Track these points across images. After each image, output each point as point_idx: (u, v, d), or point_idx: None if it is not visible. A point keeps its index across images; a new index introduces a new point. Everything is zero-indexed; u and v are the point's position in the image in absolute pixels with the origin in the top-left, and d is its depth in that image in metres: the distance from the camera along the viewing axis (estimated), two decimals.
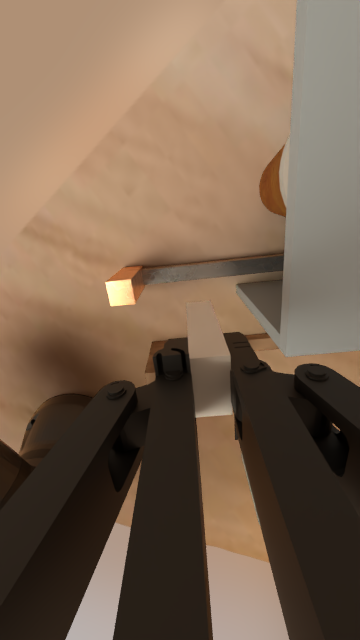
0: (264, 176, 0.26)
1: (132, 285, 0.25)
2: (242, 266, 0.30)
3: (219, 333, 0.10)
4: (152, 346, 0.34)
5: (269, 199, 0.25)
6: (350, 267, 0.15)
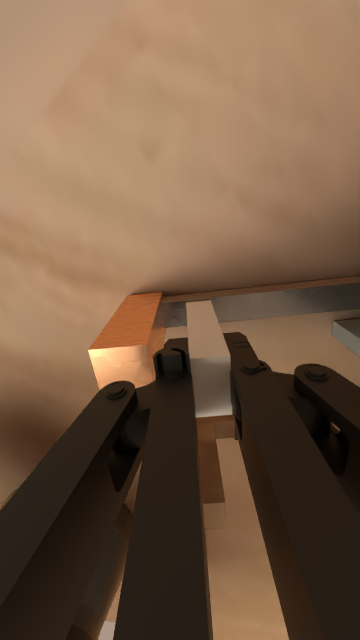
0: None
1: (150, 354, 0.11)
2: (348, 294, 0.16)
3: (219, 333, 0.10)
4: None
5: None
6: None
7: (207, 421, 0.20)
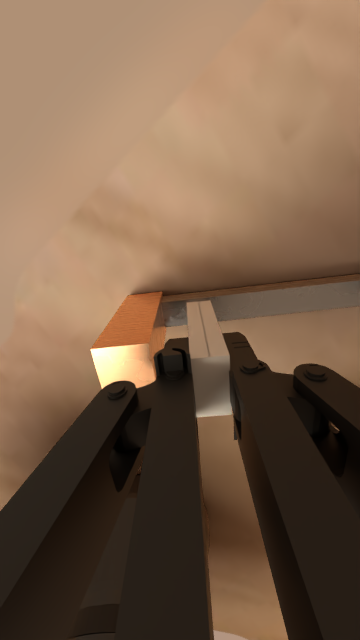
0: None
1: (151, 353, 0.11)
2: (347, 292, 0.16)
3: (218, 333, 0.10)
4: None
5: None
6: None
7: None
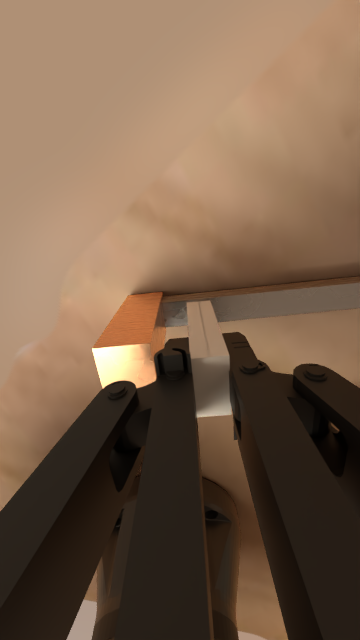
0: None
1: (152, 353, 0.11)
2: (346, 294, 0.16)
3: (218, 333, 0.10)
4: None
5: None
6: None
7: None
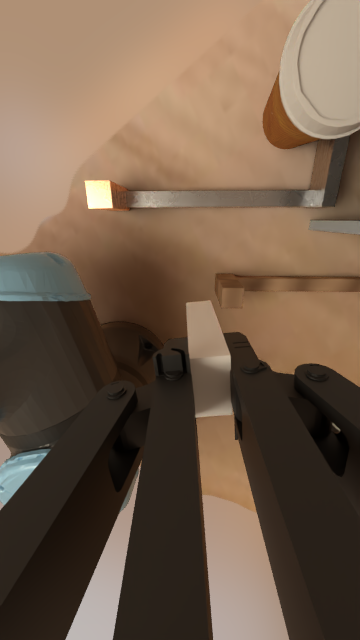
0: None
1: (111, 188, 0.25)
2: (223, 197, 0.31)
3: (219, 333, 0.10)
4: (218, 275, 0.35)
5: (270, 118, 0.26)
6: None
7: (231, 276, 0.35)
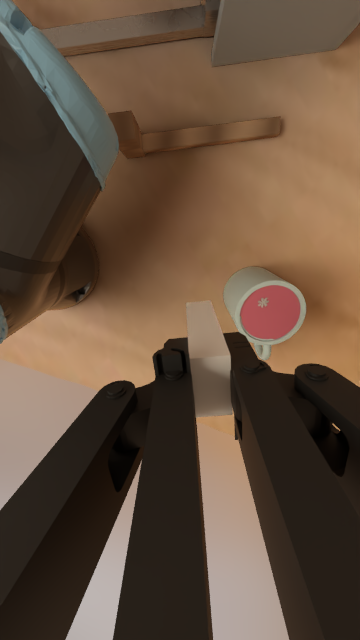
0: None
1: None
2: (107, 28, 0.28)
3: (219, 333, 0.10)
4: None
5: None
6: None
7: None
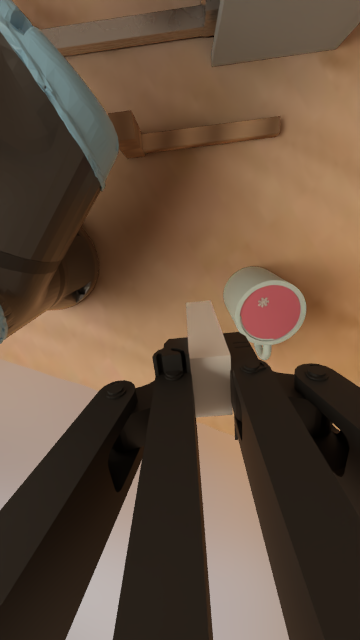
0: None
1: None
2: (107, 28, 0.28)
3: (219, 333, 0.10)
4: None
5: None
6: None
7: None
